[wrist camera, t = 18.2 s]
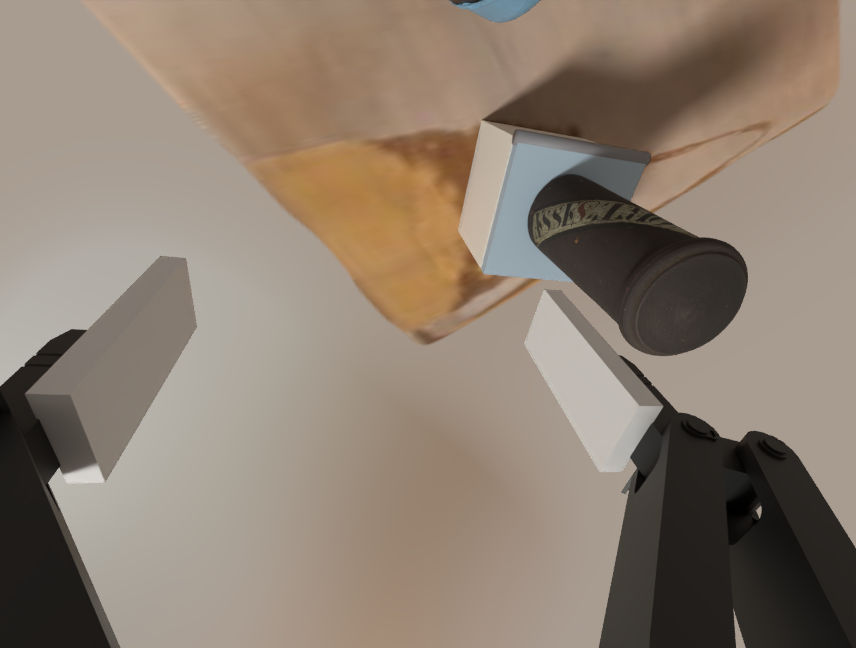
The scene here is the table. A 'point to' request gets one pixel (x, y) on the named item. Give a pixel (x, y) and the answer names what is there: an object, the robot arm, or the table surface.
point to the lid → (529, 174)
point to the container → (638, 265)
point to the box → (488, 183)
